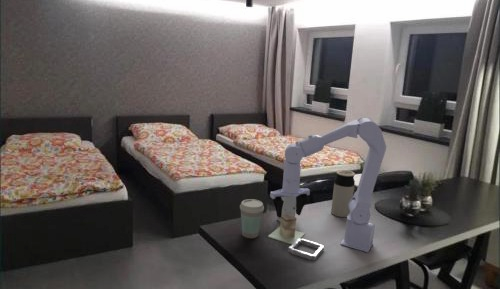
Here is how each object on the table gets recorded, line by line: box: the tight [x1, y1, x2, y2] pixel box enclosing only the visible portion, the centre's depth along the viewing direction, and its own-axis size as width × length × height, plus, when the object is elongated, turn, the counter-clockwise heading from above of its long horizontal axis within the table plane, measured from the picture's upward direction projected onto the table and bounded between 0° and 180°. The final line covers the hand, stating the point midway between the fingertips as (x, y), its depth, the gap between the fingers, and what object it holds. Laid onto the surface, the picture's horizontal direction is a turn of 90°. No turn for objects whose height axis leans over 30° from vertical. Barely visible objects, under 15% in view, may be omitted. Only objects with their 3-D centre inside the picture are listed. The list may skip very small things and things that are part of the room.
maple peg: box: [279, 214, 297, 238], centre depth 134 cm, size 4×4×7 cm
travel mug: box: [330, 169, 356, 218], centre depth 156 cm, size 8×8×18 cm
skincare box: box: [276, 196, 296, 222], centre depth 147 cm, size 6×4×12 cm
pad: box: [267, 226, 306, 246], centre depth 135 cm, size 10×10×1 cm
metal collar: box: [288, 238, 325, 261], centre depth 125 cm, size 9×9×2 cm
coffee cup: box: [239, 198, 265, 239], centre depth 133 cm, size 9×9×12 cm
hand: (288, 215), depth 134 cm, fingers open, 7 cm apart
